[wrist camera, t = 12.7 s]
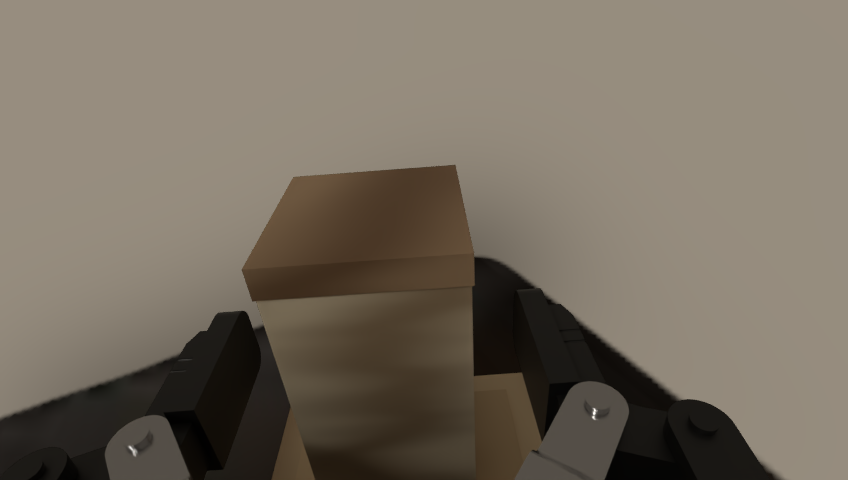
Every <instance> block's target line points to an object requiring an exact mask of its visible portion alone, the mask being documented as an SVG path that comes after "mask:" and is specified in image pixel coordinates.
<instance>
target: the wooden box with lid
mask: <svg viewBox="0 0 848 480" xmlns="http://www.w3.org/2000/svg"><path fill="white" fill-rule="evenodd" d="M242 272H243V275H244V278H245V281H246V284H247V287H248V290H249V292H250V296H251V299H252V301H256V303H257V306H258V309H259V312H260V315H261V318H262V320H263V324H264V327H265V330H266V333H267V336H268V339H269V342H270V345H271V348H272V351H273V354H274V357H275V360H276V363H277V366H278V369H279V372H280V375H281V378H282V381H283V384H284V387H285V390H286V393H287V396H288V399H289V402H290V405H291V408H292V411H293V414H294V417H295V420H296V423H297V426H298V429H299V432H300V435H301V438H302V441H303V445H304V448H305V451H306V454H307V457H308V460H309V463H310V466H311V469H312V472H313V475H314V478H315V480H476V461H475V412H474V364H473V315H472V286H475V282H474V251H473V246H472V241H471V237H470V232H469V227H468V223H467V218H466V213H465V208H464V204H463V199H462V194H461V189H460V185H459V180H458V175H457V171H456V166H455V165H448V166H436V167H422V168H408V169H394V170H381V171H368V172H354V173H340V174H329V175H314V176H300V177H293V179H292V181H291V182H290V184H289V186H288V188H287V190H286V192H285V193H284V195H283V197H282V199H281V200H280V202H279V204H278V206H277V208H276V209H275V211H274V213H273V215H272V216H271V219H270V220H269V222H268V224H267V225H266V227H265V229H264V231H263V232H262V234H261V236H260V238H259V240H258V241H257V243H256V245H255V247H254V249H253V250H252V252H251V254H250V256H249V258H248V260H247V261H246V263H245V265H244V267H243V268H242Z"/></svg>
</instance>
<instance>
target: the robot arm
mask: <svg viewBox="0 0 848 480" xmlns="http://www.w3.org/2000/svg"><path fill="white" fill-rule="evenodd" d="M513 339H514V346H515V350H516V354H517V357H518V361H519V364H520V368H521V371H522V375H523V378H524V382H525V385H526V389H527V392H528V396H529V399H530V402H531V406H532V409H533V413H534V416H535V420H536V423H537V427H538V430H539V434H540V437H541V441H542V443H541V445H540V447H539V448H538V450H537V451H535V450H532V451H531V452H530V453H529V454H528V456H527V457H526V459H525V461H524V463H523V464H522V466H521V468H520V470H519V472H518V474H517V475H516V477H515V479H514V480H770V478H769V477H768V475H767V474H766V472H765V471H764V469H763V467H762V466H761V464H760V463H759V461H758V460H757V458H756V457H755V455H754V453H753V452H752V450H751V449H750V447H749V446H748V444H747V443H746V441H745V439H744V438H743V436H742V435H741V433H740V432H739V430H738V429H737V427H736V426H735V424H734V423H733V421H732V420H731V419H730V418H729V417H728V416H727V415H726V414H725V413H724V412H722V411H721V410H719V409H718V408H716V407H714V406H712V405H711V404H708V403H705V402H702V401H698V400H690V399H687V400H681V401H677V402H675V403H674V404H673V405H671V407H670V408H669V411H668V412H666V411H661V410H656V409H651V408H645V407H641V406H637V405H634V404H631V403H629V402H627V401H626V400H625V399H624V397H623V396H622V395H621V394H620V393H619V392H618V391H616V390H615V389H614V388H612V387H610V386H608V385H607V384H606V382H605V380H604V378H603V376H602V374H601V372H600V370H599V368H598V366H597V364H596V361H595V359H594V357H593V355H592V353H591V351H590V349H589V347H588V345H587V343H586V342H585V339H584V337H583V335H582V332H581V331H580V328H579V326H578V324H577V322H576V320H575V318H574V316H573V315H572V314H571V313H570V312H569V311H568V310H567V309H566V308H564V307H563V306H562V305H561V304H555V305H548V303H547V301H546V299H545V296H544V294H543V292H542V290H541V289H540V288H537V289H525V290H515V293H514V313H513ZM260 363H261V353H260V348H259V345H258V342H257V339H256V336H255V333H254V331H253V328H252V325H251V322H250V319H249V316H248V314H247V313H246V312H245V311H235V312H223V313H218V314H217V315H216V316H215V317H214V319H213V321H212V323H211V325H210V327H209V328H208V330H207V331H200V332H199V333H198V334H197V335H196V336H195V337H194V338H193V339H191V341H189V342H188V343H187V344H186V346H185V347H184V349H183V351H182V352H181V354H180V356H179V357H178V362H176V363H175V364H174V366H173V368H172V370H171V373H170V374H169V375H168V377H167V378H166V380H165V382H164V384H163V385H162V387H161V389H160V391H159V392H158V394H157V396H156V397H155V399H154V401H153V403H152V404H151V406H150V408H149V410H148V411H147V413H146V415H145V417H141V418H139V419H136V420H134V421H132V422H130V423H129V424H127V425H126V426H124V427H123V428H122V429H120V430H119V431H118V432H117V433H116V434H115V435H114V436H113V437H112V439H111V440H110V442H109V443H108V445H107V446H106V447H103V448H100V449H97V450H94V451H91V452H88V453H85V454H82V455H79V456H76V457H73V458H70V457H69V456H68V455H67V453H66V452H65V451H64V450H63V449H61V448H57V447H49V448H44V449H41V450H37V451H35V452H33V453H31V454H29V455H27V456H25V457H23V458H22V459H20V460H19V461H17V462H16V463H14V464H13V465H12V466H11V467H10V468H8V469H7V470H6V471H5V472H4V473H3V475H2V476H1V477H0V480H203V479H204V477H205V474H206V472H207V471H209V470H222V469H224V466H225V464H226V461H227V458H228V455H229V452H230V450H231V447H232V444H233V441H234V438H235V436H236V433H237V430H238V427H239V425H240V422H241V419H242V416H243V413H244V411H245V408H246V405H247V402H248V399H249V397H250V394H251V391H252V388H253V385H254V383H255V380H256V377H257V374H258V372H259V368H260Z"/></svg>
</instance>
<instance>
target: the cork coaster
mask: <svg viewBox="0 0 848 480" xmlns="http://www.w3.org/2000/svg"><path fill="white" fill-rule="evenodd" d="M474 412H475V461H476V480H514V479H515V477H516V475H517V474H518V472H519V470H520V468H521V466H522V464H523V463H524V461H525V459H526V457H527V456H528V454H529V453H530V452H531V451H532V450H535V451H537V450H538V448H539V447H540V445H541V443H542V441H541V437H540V434H539V430H538V427H537V423H536V420H535V416H534V413H533V409H532V406H531V402H530V399H529V396H528V392H527V389H526V385H525V382H524V378H523V375H522V373H509V374H496V375H483V376H474ZM272 480H315V478H314V475H313V472H312V469H311V466H310V463H309V460H308V457H307V454H306V451H305V448H304V445H303V441H302V438H301V435H300V432H299V429H298V426H297V423H296V420H295V417H294V414H293V411H292V408H291V407H290V411H289V415H288V419H287V423H286V426H285V430H284V434H283V438H282V442H281V446H280V449H279V453H278V457H277V461H276V465H275V468H274V472H273V476H272Z"/></svg>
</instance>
